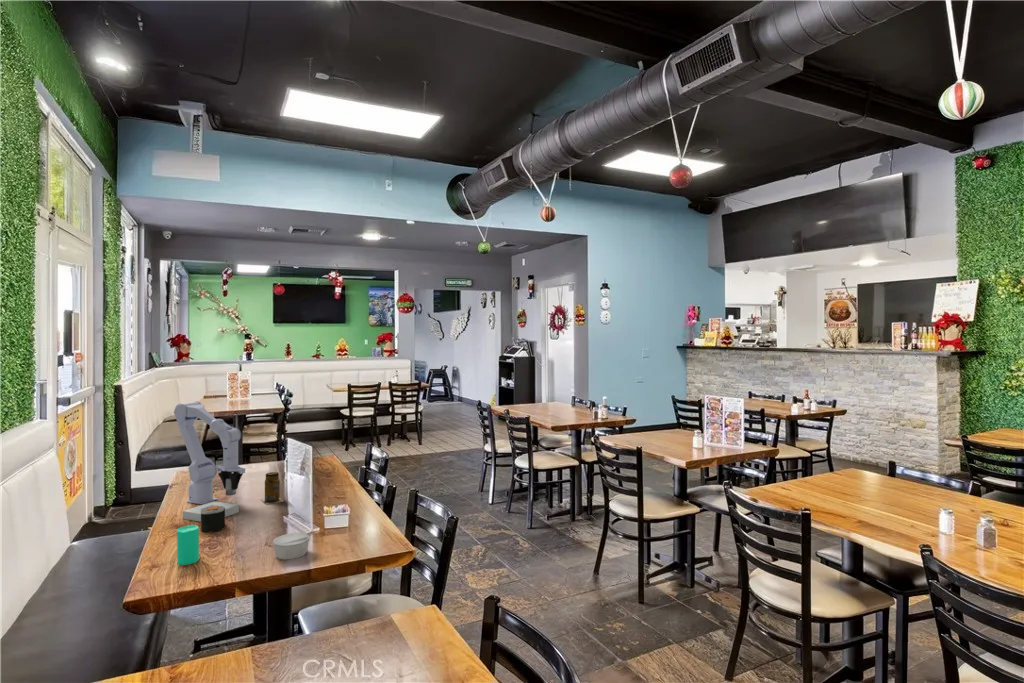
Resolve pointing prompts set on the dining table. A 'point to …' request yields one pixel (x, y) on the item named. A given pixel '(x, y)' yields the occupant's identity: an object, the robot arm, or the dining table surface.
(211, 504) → the socket
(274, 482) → the condiment
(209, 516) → the sushi
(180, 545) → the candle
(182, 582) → the dining table surface
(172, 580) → the dining table surface
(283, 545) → the ramekin
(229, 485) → the peg
